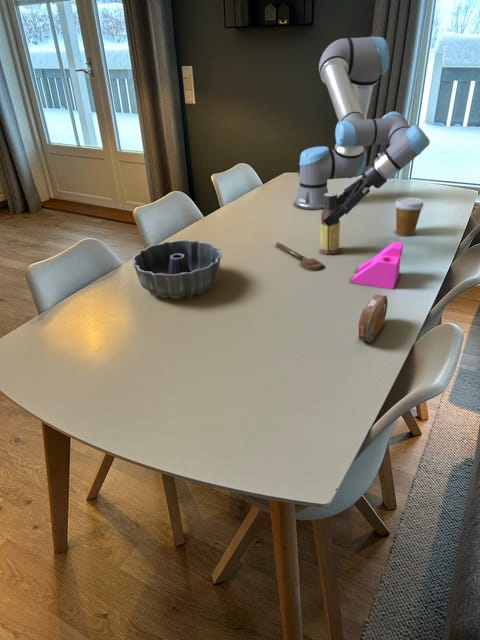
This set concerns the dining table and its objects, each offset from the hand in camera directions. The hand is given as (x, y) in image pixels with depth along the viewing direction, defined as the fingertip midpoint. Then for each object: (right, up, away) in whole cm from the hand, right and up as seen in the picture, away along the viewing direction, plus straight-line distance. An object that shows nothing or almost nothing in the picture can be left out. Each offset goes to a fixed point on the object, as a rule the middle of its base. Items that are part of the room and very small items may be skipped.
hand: (327, 216), depth 154 cm
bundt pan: (-47, -24, -11) cm, 54 cm away
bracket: (+12, -22, -13) cm, 28 cm away
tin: (+4, -37, -37) cm, 53 cm away
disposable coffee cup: (+32, -2, +17) cm, 36 cm away
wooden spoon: (-10, -13, +3) cm, 17 cm away
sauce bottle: (+2, -11, +6) cm, 13 cm away
